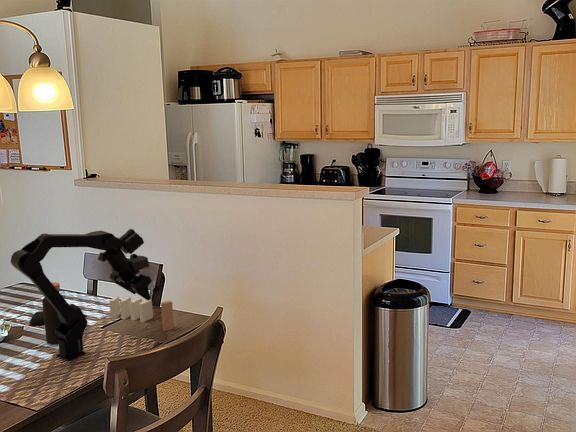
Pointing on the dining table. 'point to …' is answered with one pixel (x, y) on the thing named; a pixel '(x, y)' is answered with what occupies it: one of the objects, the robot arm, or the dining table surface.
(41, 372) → the dining table surface
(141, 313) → the ivory domino
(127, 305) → the ivory domino
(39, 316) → the carrying case or bag
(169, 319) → the terracotta domino
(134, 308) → the ivory domino
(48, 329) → the bottle
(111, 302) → the ivory domino
